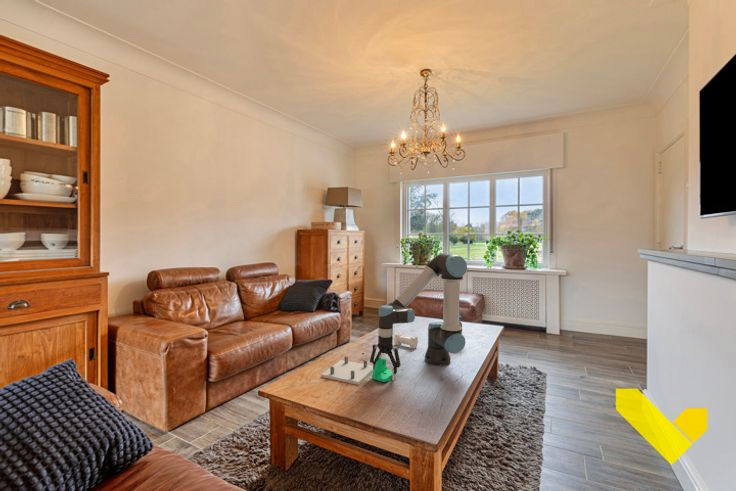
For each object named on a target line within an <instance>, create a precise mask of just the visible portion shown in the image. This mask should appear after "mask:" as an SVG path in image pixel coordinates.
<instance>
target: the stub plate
mask: <svg viewBox="0 0 736 491" xmlns="http://www.w3.org/2000/svg"><path fill="white" fill-rule="evenodd" d="M373 371H374V370H373V364H372V365H371V364H368V359H363V363H361V362H360V363H359V362H354V361H350V360H349V356H347V355H345V356H344V359H340V360H339V361H337V362H336V363H335V364H333V365H332V366H330V367H329V368H327V369H326V370H325V371H323V372H322V373H321V375H320V377H321V378H323V379H329V380H333V381H338V382H339V381H340V382H344V383H347V384H348V383H349V384H352V385H358V386H359V385H360V384H361V383H362V382H364V381H365V380H366V379H367V378H368V377H369V376H370V375H372V374H373Z"/></svg>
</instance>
